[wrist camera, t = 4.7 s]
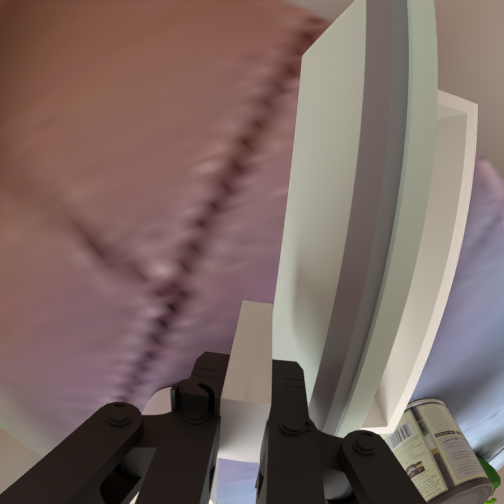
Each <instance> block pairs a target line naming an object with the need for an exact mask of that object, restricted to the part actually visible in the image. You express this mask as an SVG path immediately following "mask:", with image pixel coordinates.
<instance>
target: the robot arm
mask: <svg viewBox="0 0 504 504" xmlns="http://www.w3.org/2000/svg"><path fill="white" fill-rule="evenodd" d="M272 323H273V304H270V303H261V302H253V301H245V300H243V302H242V306H241V311H240V315H239V320H238V324H237V328H236V333H235V337H234V342H233V346H232V351H231V355H226V354H219V353H212V352H205V353H203V354H202V355H201V356H200V357H198V358H197V360H196V363H195V366H194V369H193V371H192V373H191V376H190V379H188V380H183V381H180V382H178V383H176V384H174V386H173V387H172V388H171V389H170V397H171V411H170V412H168V413H165V414H159V415H142V414H141V412H140V411H139V409H138V408H136V407H135V406H134V405H132V404H129V403H125V402H113V403H109V404H106V405H104V406H103V407H101V408H100V409H99V410H98V411H96V412H95V413H94V414H93V415H92V416H91V417H90V418H88V419H87V420H86V421H85V422H84V423H83V424H82V425H81V426H79V427H78V428H77V429H76V430H75V431H74V432H72V433H71V434H70V435H69V436H68V437H67V438H66V439H64V440H63V441H62V442H61V443H60V444H59V445H58V446H56V447H55V448H54V449H53V450H52V451H51V452H49V453H48V454H47V455H46V456H45V457H44V458H43V459H41V460H40V461H39V462H38V463H37V464H36V465H34V466H33V467H32V468H31V469H30V470H29V471H27V472H26V473H25V474H24V475H23V476H22V477H20V478H19V479H18V480H17V481H16V482H14V483H13V484H12V485H11V486H10V487H9V488H7V489H6V490H5V491H4V492H3V493H2V494H0V504H130V502H131V501H132V500H133V499H134V497H135V496H136V495H137V494H138V492H139V494H138V496H137V499H136V501H135V504H209V501H210V496H211V491H212V486H213V481H214V476H215V470H216V460H217V458H222V459H230V460H237V461H245V462H255V463H259V461H260V463H259V472H258V477H257V481H256V485H255V488H257V493H256V504H427V502H426V501H425V499H424V498H423V496H422V495H421V493H420V492H419V490H418V489H417V487H416V486H415V484H414V483H413V481H412V480H411V479H410V477H409V476H408V474H407V473H406V471H405V470H404V468H403V467H402V465H401V464H400V462H399V461H398V459H397V458H396V456H395V455H394V453H393V452H392V450H391V449H390V447H389V446H388V444H387V443H386V442H385V440H384V439H383V438H382V437H381V436H380V435H378V434H376V433H374V432H372V431H367V430H355V431H352V432H350V433H348V434H347V435H346V436H345V437H344V438H341V437H337V436H333V435H329V434H326V433H324V432H322V431H320V430H318V429H317V428H316V426H315V424H314V422H313V421H312V420H311V419H310V418H309V411H308V403H307V394H306V389H305V387H306V386H305V381H304V380H305V378H304V370H303V369H302V367H301V366H300V365H299V364H298V362H297V361H286V360H275V359H272Z"/></svg>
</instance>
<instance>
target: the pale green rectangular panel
mask: <svg viewBox="0 0 504 504" xmlns="http://www.w3.org/2000/svg"><path fill="white" fill-rule="evenodd" d="M437 104H438V47H437V29H436V16H435V5H434V0H355V1H354V2H353V3H352V4H351V5H350V6H349V7H348V8H347V9H346V10H345V11H344V12H343V13H342V14H341V15H340V16H339V17H338V18H337V19H336V20H335V21H334V22H333V23H332V24H331V25H330V26H329V28H328V29H327V30H326V31H325V32H324V33H323V34H322V35H321V36H320V37H319V38H318V39H317V40H316V41H315V43H314V44H313V45H312V46H311V47H310V48H309V49H308V50H307V51H306V52H305V53H304V55H303V56H302V64H301V76H300V87H299V97H298V108H297V118H296V128H295V137H294V147H293V156H292V165H291V174H290V183H289V191H288V200H287V208H286V217H285V225H284V233H283V241H282V249H281V256H280V264H279V272H278V279H277V286H276V294H275V301H274V308H273V323H272V359H275V360H286V361H297V362H298V364H299V365H300V366H301V367H302V369H303V370H304V378H305V380H304V381H305V386H306V387H305V389H306V394H307V403H308V411H309V418H310V419H311V420H312V421H313V422H314V424H315V426H316V428H317V429H318V430H320V431H322V432H324V433H326V434H329V435H333V436H337V437H341V438H344V437H345V436H346V435H347V434H348V433H350V432H352V431H355V430H361V427H362V425H363V423H364V421H365V418H366V416H367V414H368V411H369V409H370V406H371V404H372V402H373V399H374V397H375V394H376V392H377V389H378V386H379V384H380V381H381V379H382V376H383V373H384V370H385V368H386V365H387V362H388V359H389V356H390V353H391V350H392V347H393V344H394V341H395V338H396V335H397V332H398V329H399V325H400V322H401V319H402V315H403V312H404V308H405V305H406V301H407V298H408V294H409V290H410V286H411V282H412V278H413V274H414V270H415V266H416V261H417V257H418V252H419V248H420V243H421V238H422V233H423V228H424V222H425V217H426V211H427V205H428V198H429V191H430V184H431V177H432V169H433V160H434V150H435V138H436V124H437ZM259 463H260V461H259Z"/></svg>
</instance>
